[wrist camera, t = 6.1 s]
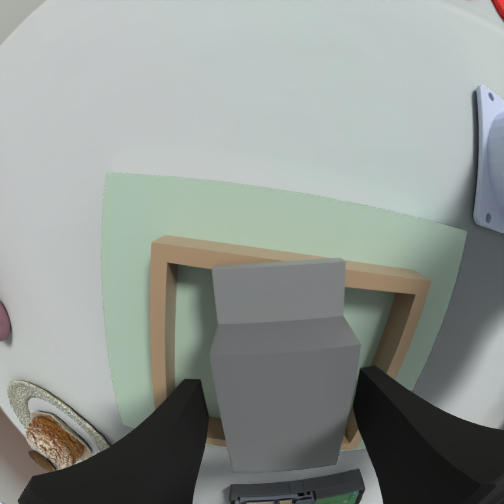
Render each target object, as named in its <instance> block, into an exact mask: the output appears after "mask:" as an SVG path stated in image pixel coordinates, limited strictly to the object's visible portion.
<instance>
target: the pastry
mask: <svg viewBox="0 0 504 504" xmlns="http://www.w3.org/2000/svg"><path fill="white" fill-rule="evenodd" d="M7 392H8V397H9V400H10V404H11V407H12V409H13V410H14V412H15V414H16V416H17V418H18V419H19V421H20V422H21V424H22V425H23V426H24V428H25V429H26V430H27V431H26V435H25V436H26V440H27V442H28V444H29V446H31V448H32V449H33V451H29V455H30V456H31V458H32V459H33V460H34V461H35V462H36V463H37V464H39V465H40V466H41V467H43V468H44V469H46V470H47V471H49V472H53V471H56V469H58V470H60V469H63V468H66V467H69V466H72V465H74V464H77V463H79V462H82V461H84V460H86V459H88V458H90V456H91V451H90V448H89V447H88V445H87V444H86V443H85V441H84V440H83V439H82V438H81V437H80V436H79V435H78V434H77V433H76V432H75V431H74V430H73V429H72V428H71V427H69V426H68V425H67V424H66V423H64V422H63V421H62V420H61V419H60V418H59V417H58V416H56V415H55V414H54V415H53V414H50V413H43V412H39V411H37V412H33V413H31V414H30V412H29V409H28V401H29V399H30V398H35V397H36V398H40V399H43V400H45V401H47V402H49V403H51V404H52V405H54V406H56V407H57V408H59V409H60V410H61V411H63V412H64V413H66V414H67V415H68V416H69V417H71V418H72V419H73V420H74V421H75V422H77V423H78V424H79V425H80V426H81V427H82V428H83V429H84V430H85V431H86V432H87V433H88V434H89V435H90V436H91V437H92V438H93V439H94V441H95V442H96V443H97V445H98V446H99V448H100V451H103V450H105V449H107V448H109V447H110V444H109V443H108V442H106V440H105V438H104V436H103V435H102V434H100V433H99V432H97V431H96V430H95V429H94V428H93V427H92V426H91V425H90V424H89V423H87V422H86V421H85V420H83V419H82V418H81V417H79V416H78V415H77V414H76V413H75V412H74V411H73V409H72V408H71V407H69V406H68V405H67V404H65V403H64V402H63V401H62V400H60V399H59V398H58V397H56V396H54V395H52V394H51V393H50V392H48V391H45V390H43V389H42V388H39V387H37V386H35V385H33V384H32V383H30V382H25V381H21V380H15V381H12V382H11V383H10V384H9V385H8V389H7Z"/></svg>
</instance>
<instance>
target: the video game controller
mask: <svg viewBox="0 0 504 504" xmlns="http://www.w3.org/2000/svg"><path fill="white" fill-rule="evenodd" d="M9 332H10V321H9V318H8V315H7V313H6V311H5V309H4V307H3V306H2V304H1V303H0V341H3V340H4V339H6V338H7V337H8V335H9Z"/></svg>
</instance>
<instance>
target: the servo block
mask: <svg viewBox="0 0 504 504" xmlns="http://www.w3.org/2000/svg"><path fill="white" fill-rule="evenodd" d="M345 268H346V261H344V260H343V259H342V258H328V259H312V260H296V261H280V262H263V263H246V264H228V265H214V267H213V268H212V277H213V286H214V295H215V304H216V312H217V320H218V326H217V330H216V333H215V337H214V340H213V344H212V348H211V351H210V355H209V356H210V362H211V368H212V374H213V379H214V385H215V390H216V395H217V401H218V406H219V411H220V416H221V420H222V425H223V430H224V434H225V439H226V443H227V448H228V452H229V456H230V461H231V465H232V469H233V472H276V471H289V470H300V469H308V468H316V467H323V466H329V465H335V464H336V462H337V459H338V456H339V452H340V448H341V445H342V441H343V437H344V433H345V429H346V425H347V420H348V416H349V411H350V407H351V402H352V397H353V392H354V386H355V381H356V375H357V369H358V363H359V356H360V349H361V343H360V341H359V340H358V338H357V336H356V335H355V333H354V332H353V330H352V329H351V327H350V325H349V324H348V322H347V321H346V319H345V318H344V316H343V312H344V295H345Z"/></svg>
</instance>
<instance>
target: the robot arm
mask: <svg viewBox="0 0 504 504" xmlns="http://www.w3.org/2000/svg"><path fill="white" fill-rule="evenodd" d="M476 91H477V102H478V118H479V161H478V177H477V189H476V198H475V206H474V213H473V217H474V221H475V223H476V224H477V225H480V226H483V227H486V228H489V229H491V230H494V231H497V232H500V233H502V234H504V100H503V99H502V98H501V97H499V96H498V95H497V94H495V93H494V92H493V91H491V90H490V89H488V88H487V87H485V86H484V85H480V86H477V90H476ZM486 215H487V218H486ZM353 411H354V415H355V419H356V423H357V426H358V429H359V432H360V435H361V437H362V439H363V442H364V444H365V447H366V449H367V452H368V454H369V457H370V459H371V462H372V464H373V467H374V469H375V472H376V475H377V478H378V481H379V486H380V490H381V494H382V499H383V504H504V430H500V429H494V428H489V427H485V426H481V425H478V424H475V423H472V422H469V421H466V420H463V419H461V418H458V417H456V416H454V415H451V414H449V413H447V412H445V411H443V410H441V409H439V408H437V407H435V406H433V405H432V404H430V403H428V402H427V401H425V400H423V399H422V398H420V397H419V396H417V395H415V394H414V393H412V392H411V391H410V390H408V389H407V388H405V387H404V386H402V385H401V384H400V383H398V382H397V381H396V380H394V379H393V378H392V377H390V376H389V375H387V374H386V373H385V372H383V371H382V370H381V369H379V368H378V367H376V366H369V367H364V368H360V371H359V376H358V382H357V387H356V392H355V397H354V402H353ZM208 424H209V414H208V410H207V405H206V401H205V397H204V392H203V388H202V383H201V379H184V380H183V381H182V382H181V383H180V384H179V385H178V386H177V387H176V388H175V389H174V391H173V392H172V393H171V394H170V395H169V396H168V397H167V398H166V399H165V400H164V401H163V402H162V403H161V404H160V406H159V407H158V408H157V409H156V410H155V411H154V412H153V413H152V414H151V415H150V416H148V417H147V418H146V419H145V420H144V421H143V422H142V423H141V424H139V425H138V426H137V427H136V428H135V429H134V430H133V431H131V432H130V433H129V434H127V435H126V436H125V437H123V438H122V439H121V440H119V441H118V442H116V443H115V444H113V445H112V446H110V447H109V448H107V449H105V450H103V451H101V452H100V453H98V454H96V455H94V456H92V457H90V458H88V459H86V460H84V461H82V462H79V463H77V464H74V465H72V466H69V467H66V468H63V469H60V470H57V471H53V472H49V473H45V474H41V475H36V476H33V477H32V478H31V480H30V481H29V483H28V485H27V486H26V488H25V489H24V491H23V493H22V494H21V496H20V498H19V499H18V503H19V504H192V503H193V494H194V489H195V484H196V480H197V476H198V472H199V468H200V464H201V461H202V457H203V453H204V449H205V444H206V440H207V433H208ZM0 504H4V503H3V502H1V503H0Z"/></svg>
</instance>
